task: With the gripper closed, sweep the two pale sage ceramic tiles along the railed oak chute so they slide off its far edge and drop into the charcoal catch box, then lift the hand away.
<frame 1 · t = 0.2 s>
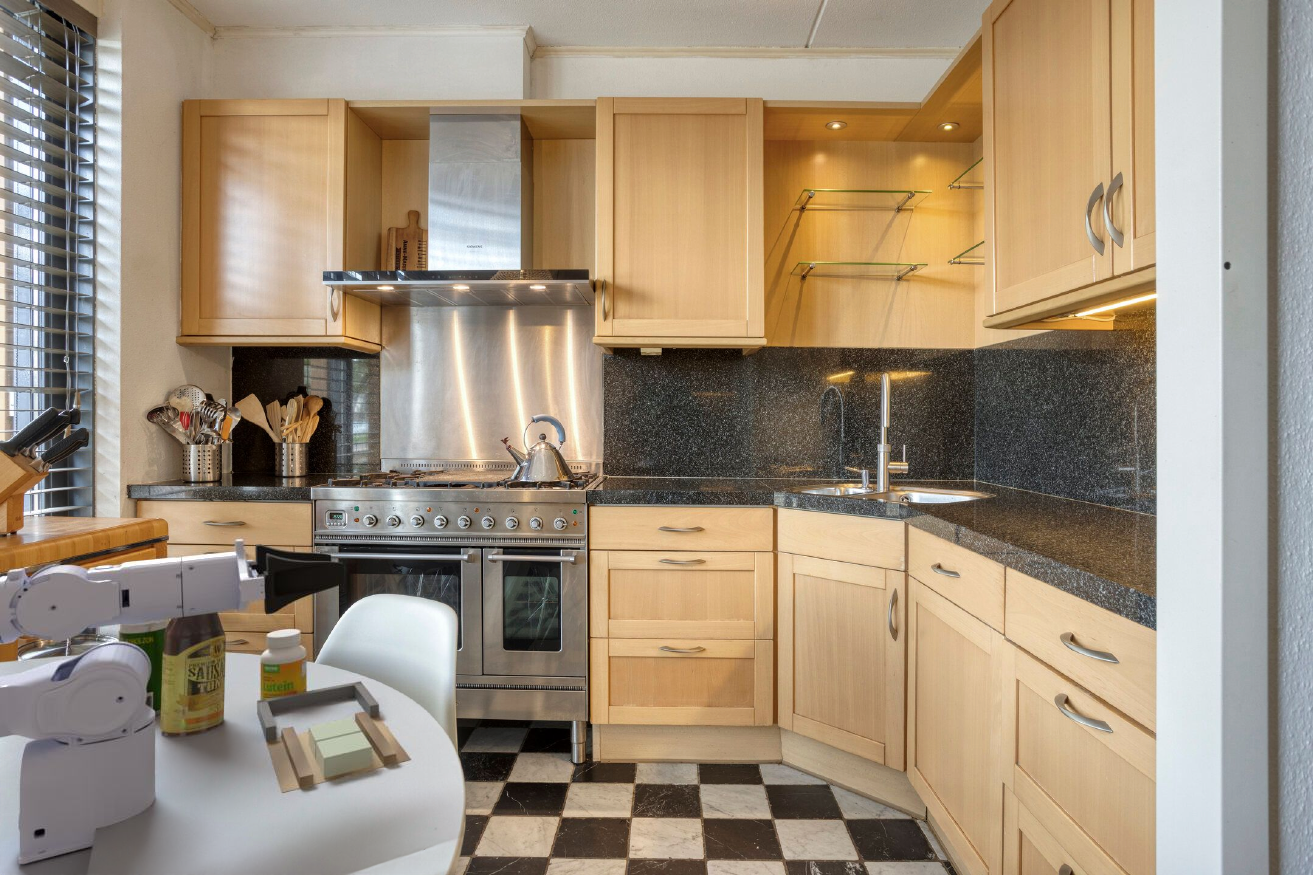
hand: (337, 568, 74), 21 cm above the table, tool horizontal, fingers open, 7 cm apart
sauce bottle: (193, 739, 82), on the table
tile near: (343, 763, 72), point 1 cm above the table, touching board
catch box: (317, 726, 85), on the table
tile far: (334, 746, 76), point 1 cm above the table, touching board
board: (336, 763, 75), on the table
supplement bottle: (283, 708, 92), on the table
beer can: (145, 714, 90), on the table
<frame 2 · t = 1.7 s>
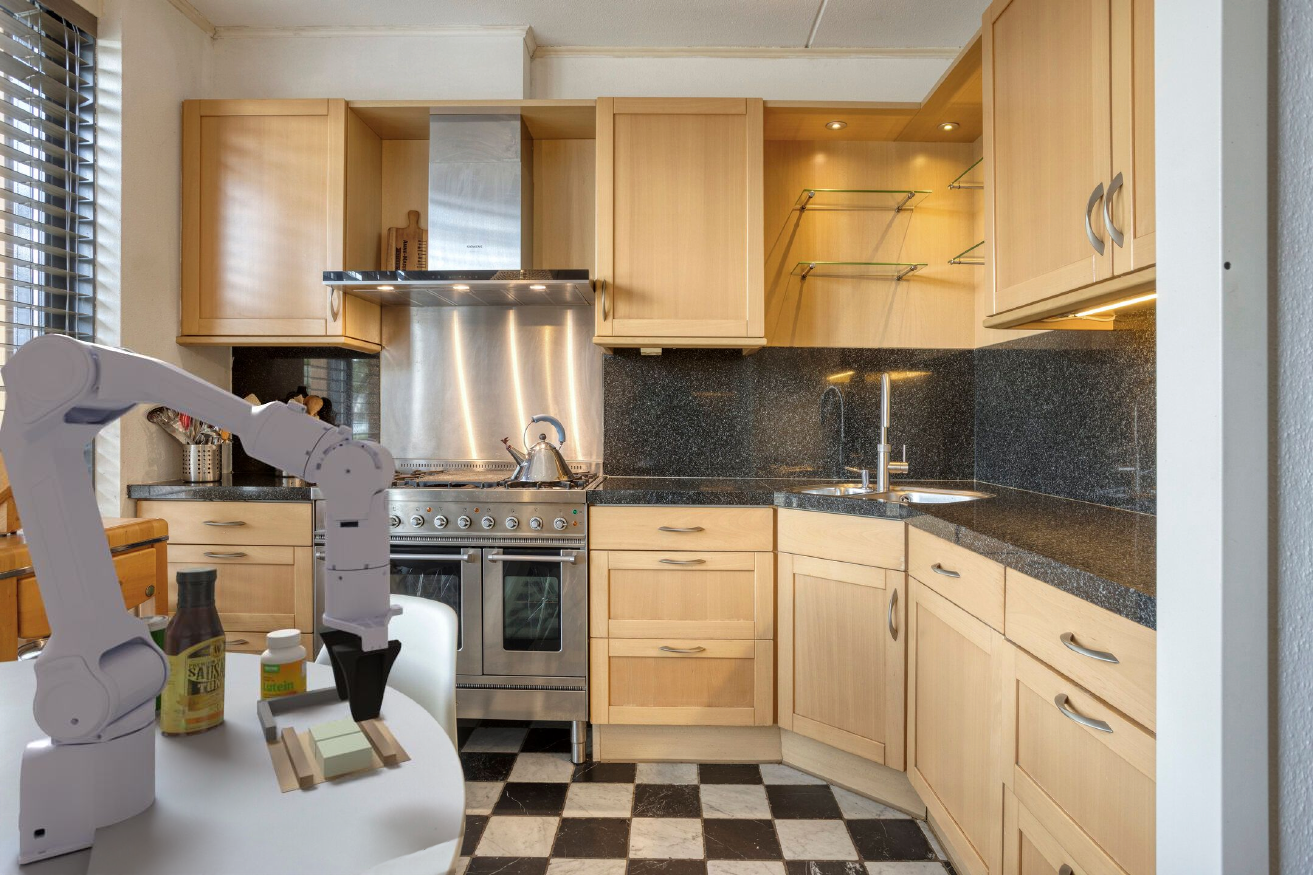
hand: (358, 708, 66), 9 cm above the table, tool pointing down, fingers open, 6 cm apart
nothing on the table moved.
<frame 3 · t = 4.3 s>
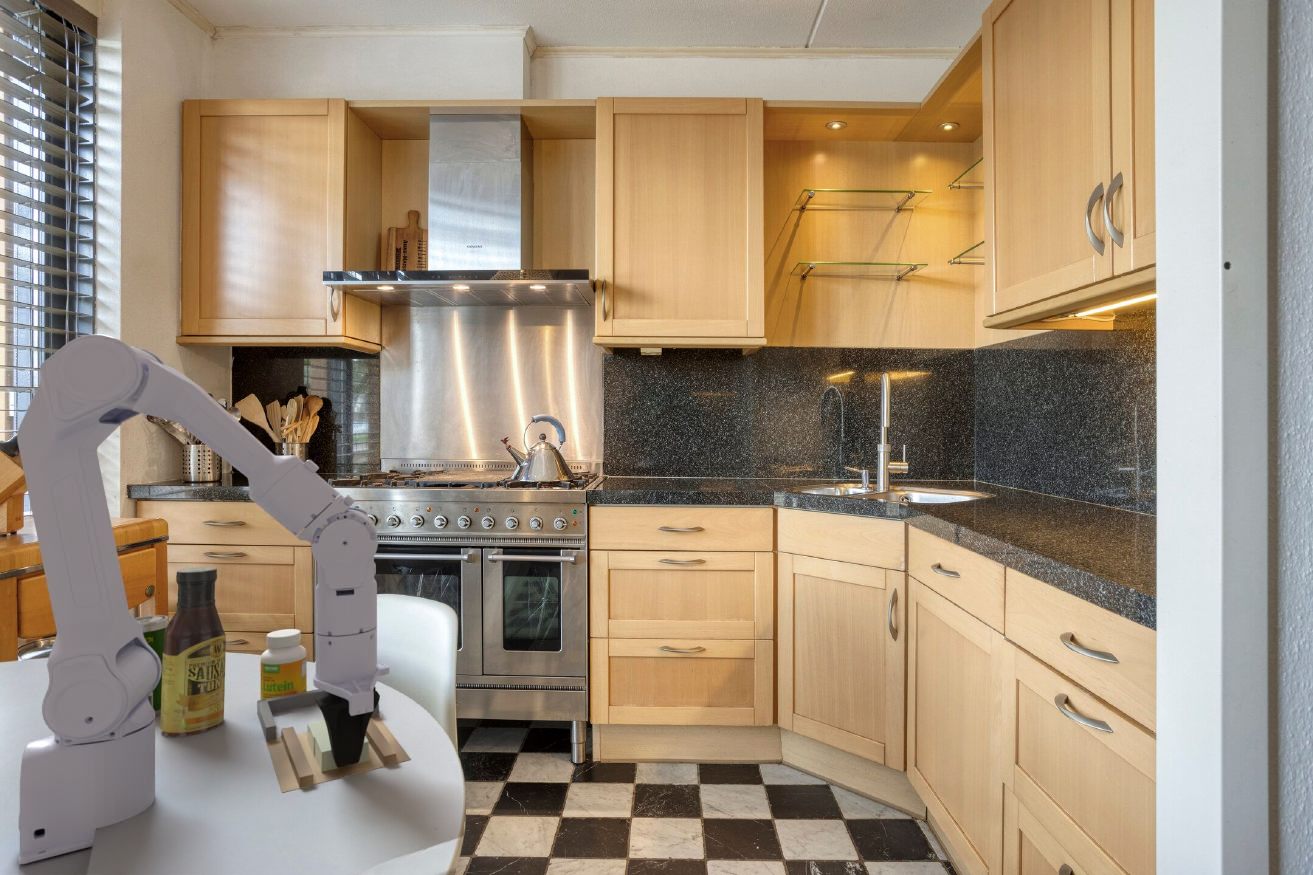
hand: (347, 763, 71), 2 cm above the table, tool pointing down, fingers closed
tile near: (341, 758, 73), point 2 cm above the table, touching board, gripper, tile far
tile far: (333, 743, 77), point 2 cm above the table, touching board, tile near
everything else where it was.
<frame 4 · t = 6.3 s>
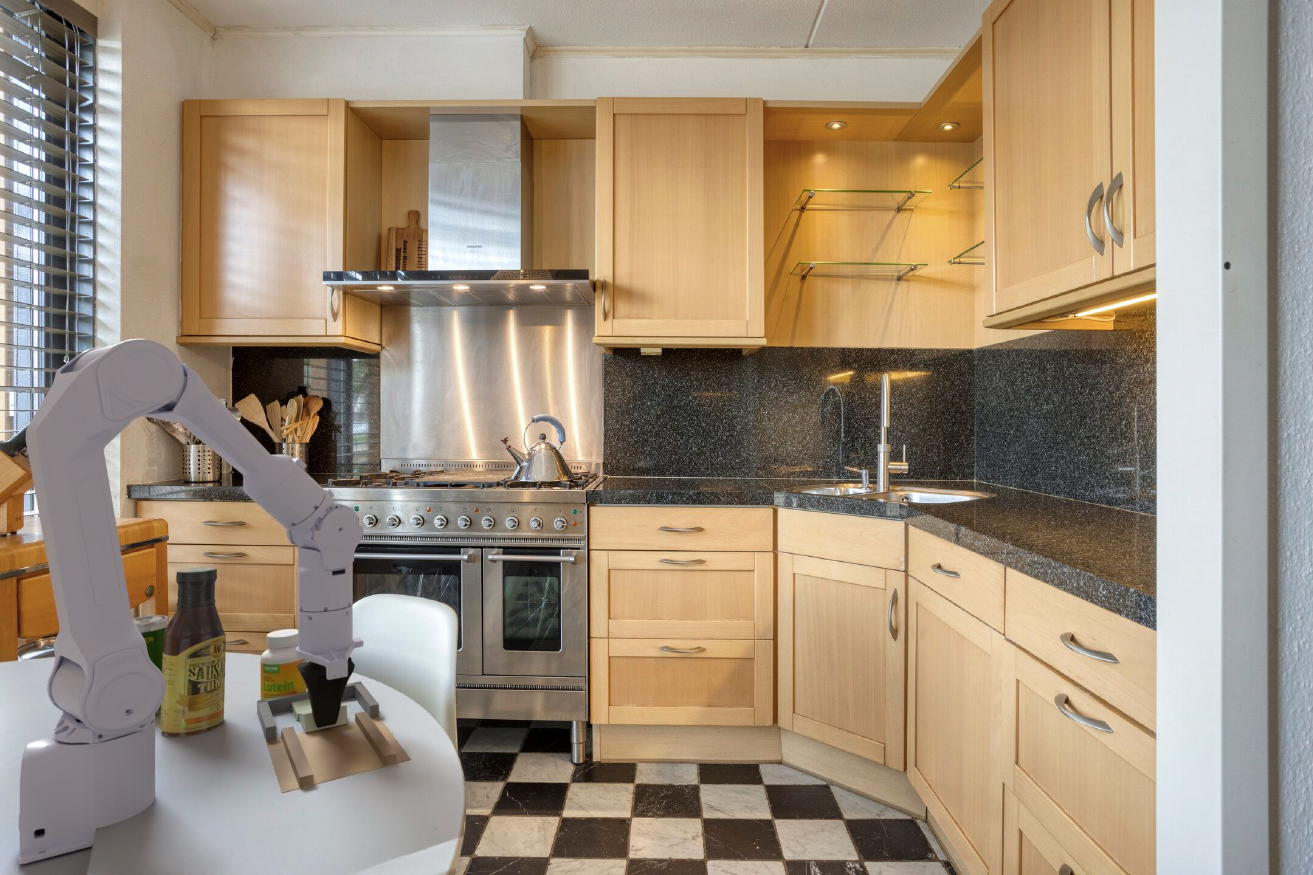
hand: (325, 724, 81), 2 cm above the table, tool pointing down, fingers closed
tile near: (323, 727, 83), point 1 cm above the table, tilted 16°, touching gripper, tile far
tile far: (314, 719, 87), resting on catch box, touching tile near
everything else where it was.
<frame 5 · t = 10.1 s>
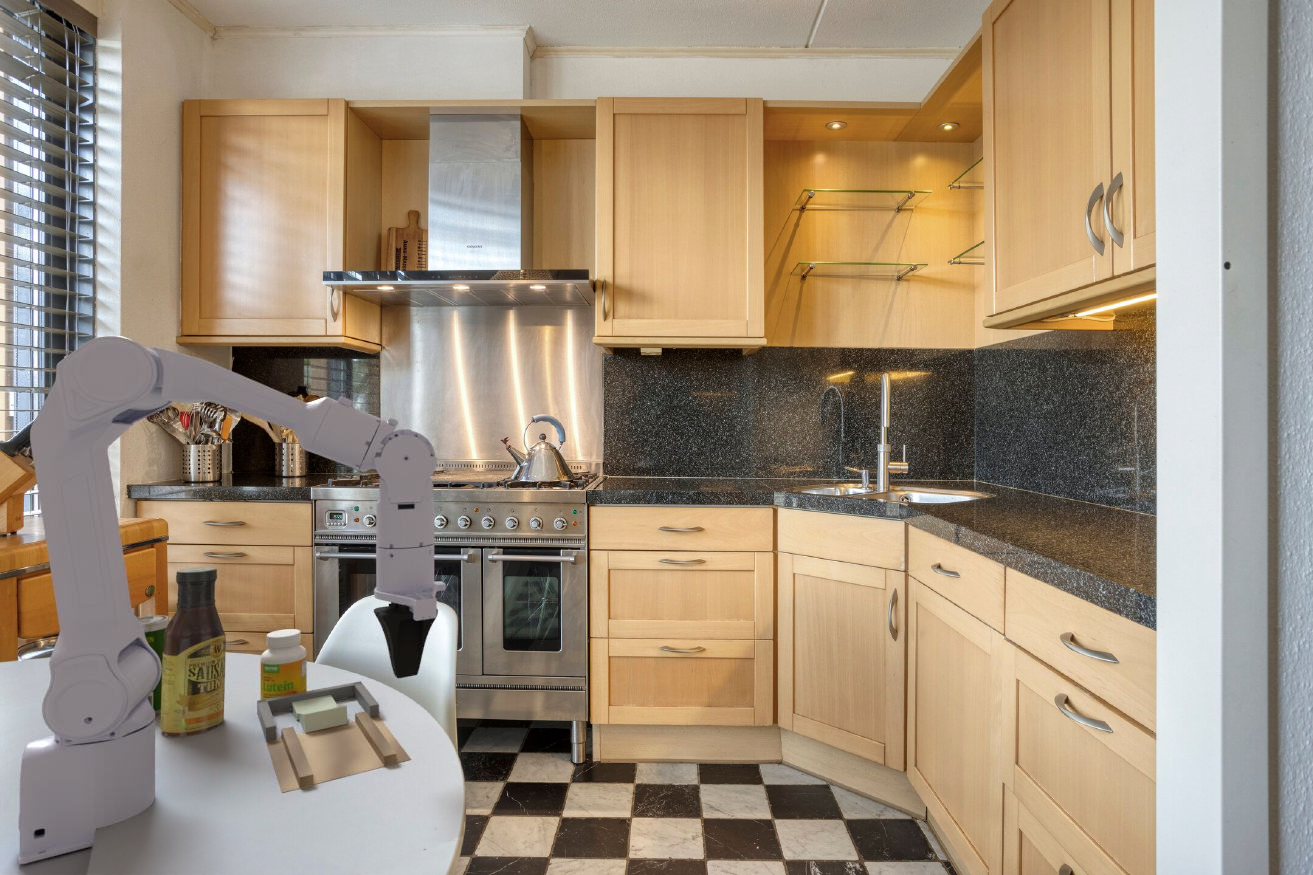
hand: (406, 675, 73), 10 cm above the table, tool pointing down, fingers closed
tile near: (323, 727, 83), point 1 cm above the table, tilted 16°, touching board, tile far
everything else where it was.
at the end: tile near inside the target area (3.0 cm from its centre), point 1.0 cm above the table; tile far inside the target area (2.0 cm from its centre), resting on catch box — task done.
